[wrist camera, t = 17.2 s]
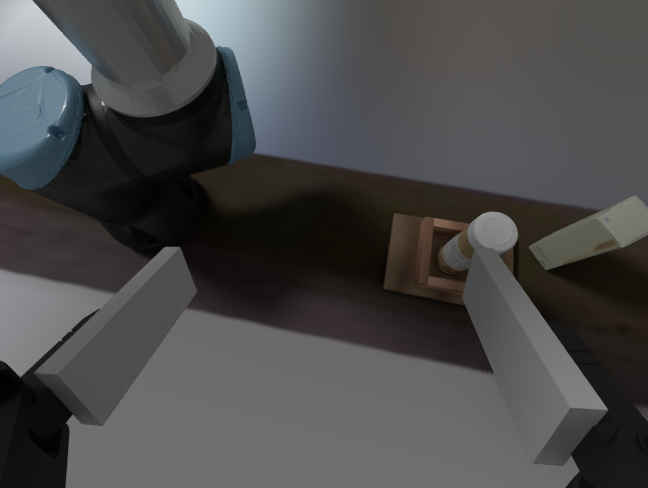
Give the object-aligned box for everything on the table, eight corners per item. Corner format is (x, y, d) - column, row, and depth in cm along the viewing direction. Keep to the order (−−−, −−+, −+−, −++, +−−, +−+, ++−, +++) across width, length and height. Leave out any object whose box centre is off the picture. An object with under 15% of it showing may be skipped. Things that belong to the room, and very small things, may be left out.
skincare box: (544, 271, 44) (620, 250, 32) (526, 246, 45) (593, 217, 34) (579, 252, 45) (666, 224, 33) (560, 228, 46) (637, 193, 34)
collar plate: (382, 289, 44) (387, 285, 40) (392, 216, 47) (398, 205, 43) (506, 313, 43) (525, 311, 38) (508, 235, 46) (526, 225, 41)
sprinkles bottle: (466, 248, 44) (519, 214, 31) (464, 278, 43) (520, 255, 30) (434, 243, 44) (475, 207, 31) (432, 272, 43) (473, 247, 30)
